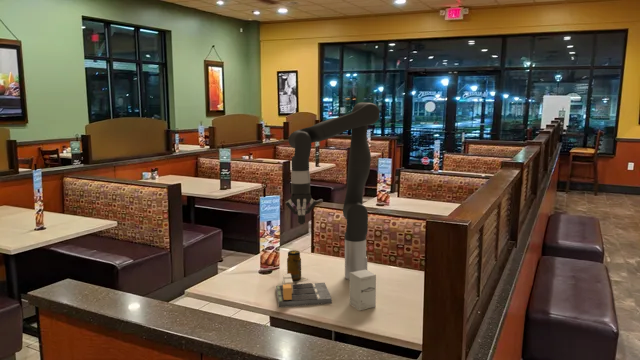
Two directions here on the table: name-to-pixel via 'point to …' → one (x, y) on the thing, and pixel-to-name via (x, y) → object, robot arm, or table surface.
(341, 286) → the table surface
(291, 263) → the condiment
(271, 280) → the table surface
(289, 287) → the block
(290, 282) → the block
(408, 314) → the table surface
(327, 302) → the panel
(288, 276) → the block
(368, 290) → the supplement box
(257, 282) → the table surface
